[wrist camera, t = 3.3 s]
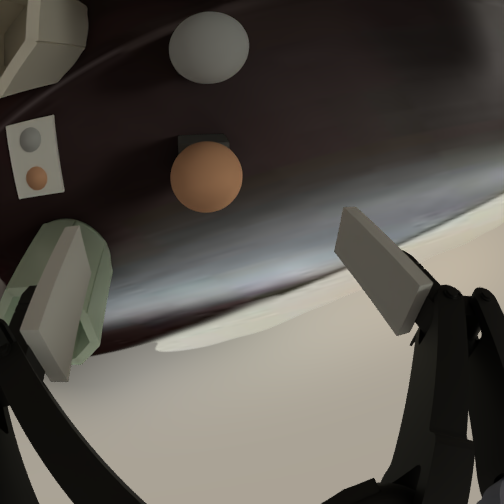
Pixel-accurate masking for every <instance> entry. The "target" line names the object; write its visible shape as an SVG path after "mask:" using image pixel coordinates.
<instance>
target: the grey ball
mask: <svg viewBox="0 0 504 504" xmlns="http://www.w3.org/2000/svg"><path fill="white" fill-rule="evenodd" d="M248 53H249V40H248V36H247V33H246V31H245V29H244V28H243V26H242V25H241V24H240V23H239V22H238V21H237V20H236V19H234V18H232V17H231V16H229V15H227V14H224V13H220V12H201V13H198V14H195V15H192V16H190V17H188V18H187V19H185V20H184V21H183V22H181V23H180V24H179V25H178V27H177V28H176V29H175V31H174V32H173V34H172V37H171V39H170V43H169V56H170V60H171V62H172V64H173V66H174V68H175V69H176V70H177V72H178V73H179V74H181V75H182V76H183V77H185V78H186V79H188V80H190V81H193V82H196V83H201V84H213V83H219V82H222V81H224V80H227V79H229V78H230V77H232V76H233V75H235V74H236V73H237V72H238V71H239V70H240V69H241V68H242V66H243V65H244V63H245V61H246V59H247V56H248Z"/></svg>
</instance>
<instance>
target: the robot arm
mask: <svg viewBox="0 0 504 504" xmlns="http://www.w3.org/2000/svg"><path fill="white" fill-rule="evenodd" d="M334 252H335V253H336V254H337V256H338V257H339V258H340V259H341V261H342V262H343V263H344V265H345V266H346V267H347V269H348V270H349V271H350V273H351V274H352V275H353V276H354V278H355V279H356V280H357V282H358V283H359V284H360V286H361V287H362V289H363V290H364V291H365V293H366V294H367V295H368V297H369V298H370V299H371V301H372V302H373V303H374V305H375V306H376V308H377V309H378V310H379V312H380V313H381V315H382V316H383V317H384V319H385V320H386V322H387V323H388V324H389V326H390V327H391V329H392V330H393V331H394V333H395V334H396V336H398V335H402V334H405V333H409V332H410V330H411V329H412V327H413V325H414V323H416V324H417V325H418V326H419V328H418V330H417V332H416V334H415V336H414V338H413V339H412V341H411V343H410V346H412V345H413V343H414V342H415V347H414V355H413V362H412V370H411V376H410V382H409V388H408V393H407V399H406V404H405V409H404V414H403V419H402V423H401V427H400V432H399V436H398V440H397V444H396V448H395V452H394V455H393V459H392V462H391V465H390V467H389V468H388V470H387V471H386V473H385V474H384V477H383V478H382V480H381V483H376V481H375V479H374V478H372V479H370V480H367V481H365V482H362V483H360V484H357V485H355V486H352V487H349V488H347V489H344V490H343V491H341V492H339V493H338V494H336V495H335V496H333V497H331V498H330V499H328V500H326V501H325V502H323V503H322V504H468V499H469V493H470V487H471V481H472V474H473V466H474V457H475V461H476V471H477V478H478V484H479V488H480V492H481V495H482V500H480V501H479V502H478V503H477V504H504V314H503V312H502V310H501V308H500V306H499V304H498V302H497V300H496V298H495V296H494V295H493V294H492V293H491V292H490V291H489V290H487V289H484V288H476V289H475V290H474V292H473V294H472V296H463V295H462V294H461V293H460V291H458V290H457V289H456V288H454V287H452V286H449V285H440V284H439V283H438V282H437V281H436V280H435V279H434V278H433V277H432V276H431V275H430V274H429V272H428V271H427V270H426V269H424V267H423V266H422V265H421V264H419V262H418V261H417V260H416V259H415V258H414V257H413V256H412V255H410V254H408V253H407V252H405V251H403V250H401V249H400V248H399V247H398V246H397V245H396V244H395V243H394V242H393V241H392V240H391V239H390V238H389V237H388V236H387V235H386V234H384V233H383V232H382V231H381V230H380V229H379V228H378V227H377V226H376V225H375V224H374V223H373V222H372V221H371V220H370V219H369V218H367V217H366V216H365V215H364V214H363V213H362V212H361V211H360V210H359V209H358V208H357V207H343V212H342V217H341V222H340V227H339V232H338V237H337V241H336V246H335V250H334ZM90 277H91V270H90V266H89V262H88V258H87V255H86V251H85V247H84V243H83V239H82V234H81V230H80V226H79V225H78V226H70V227H65V228H64V230H63V232H62V234H61V236H60V238H59V240H58V242H57V244H56V246H55V248H54V250H53V252H52V254H51V256H50V258H49V260H48V262H47V265H46V267H45V269H44V271H43V273H42V275H41V278H40V280H39V282H38V285H33V286H29V287H28V288H27V289H26V290H25V291H24V292H23V293H22V295H21V297H20V300H19V302H18V305H17V307H16V309H15V312H14V314H13V316H12V319H11V321H10V324H9V326H8V324H7V323H6V322H5V321H4V320H3V319H0V504H39V502H38V500H37V498H36V495H35V493H34V490H33V488H32V486H31V483H30V480H29V478H28V475H27V472H26V469H25V466H24V464H23V460H22V457H21V454H20V452H19V448H18V445H17V441H16V438H15V434H14V431H13V427H12V423H11V419H10V415H9V411H8V406H9V405H10V406H11V408H12V410H13V412H14V414H15V416H16V418H17V420H18V422H19V423H20V425H21V427H22V429H23V430H24V432H25V434H26V436H27V437H28V439H29V441H30V442H31V444H32V446H33V447H34V449H35V450H36V452H37V453H38V455H39V456H40V458H41V460H42V461H43V463H44V464H45V466H46V467H47V468H48V470H49V471H50V473H51V474H52V476H53V477H54V478H55V480H56V481H57V482H58V484H59V485H60V486H61V488H62V489H63V490H64V492H65V493H66V494H67V496H68V497H69V498H70V499H71V501H72V502H73V503H74V504H146V503H145V502H144V501H143V500H142V499H141V498H140V497H139V496H138V495H136V493H134V492H133V491H132V490H131V489H130V488H129V487H128V486H127V485H126V484H125V483H124V482H123V481H122V480H121V479H120V478H119V477H118V476H117V475H116V473H114V471H113V470H112V469H111V468H110V467H109V466H108V465H107V464H106V463H105V462H104V461H103V459H102V458H101V457H100V456H99V455H98V454H97V453H96V451H95V450H94V449H93V448H92V447H91V446H90V445H89V443H88V442H87V441H86V440H85V438H84V437H83V436H82V435H81V433H80V432H79V431H78V430H77V428H76V427H75V426H74V425H73V423H72V422H71V420H70V419H69V418H68V417H67V415H66V414H65V413H64V411H63V410H62V408H61V407H60V406H59V404H58V403H57V401H56V400H55V399H54V397H53V395H52V394H51V392H50V391H49V389H48V388H47V387H46V385H45V384H44V382H43V379H44V374H45V373H46V375H47V376H48V378H49V379H50V381H51V382H68V381H69V374H70V368H71V362H72V356H73V351H74V346H75V340H76V335H77V331H78V326H79V321H80V317H81V312H82V308H83V304H84V300H85V296H86V292H87V288H88V284H89V280H90ZM480 330H481V332H482V336H481V338H480V339H478V336H477V335H478V333H479V332H480ZM468 411H469V416H470V422H471V429H472V436H473V441H471V440H468V439H467V435H466V434H467V422H468Z"/></svg>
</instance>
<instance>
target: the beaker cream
mask: <svg viewBox="0 0 504 504" xmlns="http://www.w3.org/2000/svg"><path fill="white" fill-rule="evenodd" d="M87 10H88V8H87V6H86V5H84V4H83V3H82V2H80V1H79V0H0V98H3V97H6V96H9V95H13V94H16V93H19V92H23V91H26V90H30V89H34V88H38V87H42V86H46V85H50V84H55V83H57V82H59V81H60V79H61V78H62V77H63V75H64V74H65V73H67V72H68V71H69V70H70V69H71V67H72V66H73V65H74V64H75V62H76V61H77V60H78V58H79V56H80V55H81V53H82V52H83V50H84V49H85V47H86V41H87V36H88V29H89V24H88V16H87Z"/></svg>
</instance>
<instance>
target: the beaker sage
mask: <svg viewBox="0 0 504 504" xmlns="http://www.w3.org/2000/svg"><path fill="white" fill-rule="evenodd" d="M78 225H79V226H80V230H81V234H82V239H83V243H84V247H85V251H86V255H87V258H88V262H89V266H90V270H91V277H90V280H89V284H88V288H87V292H86V296H85V300H84V304H83V308H82V312H81V317H80V321H79V326H78V331H77V335H76V340H75V346H74V351H73V356H72V362H71V365H81V364H83V363H84V362H85V361H86V359H88V357H89V356H90V355H91V354H92V353H93V352H94V351H95V350H96V349H97V348H98V347H99V346H100V341H101V334H102V327H103V321H104V315H105V309H106V304H107V298H108V293H109V288H110V283H111V278H112V273H113V270H112V266H111V254H110V251H109V248H108V245H107V243H106V242H105V240H104V239H103V237H102V236H101V235H100V234H99V233H98V232H97V231H96V230H95V229H94V228H92V227H91V226H89V225H88V224H86V223H84V222H81V221H78V220H75V219H67V218H65V219H57V220H54V221H51V222H49V223H45V224H43V225H42V227H41V228H40V230H39V231H38V233H37V234H36V236H35V238H34V239H33V241H32V243H31V244H30V246H29V247H28V249H27V251H26V253H25V254H24V256H23V258H22V259H21V261H20V263H19V265H18V267H17V268H16V270H15V272H14V274H13V276H12V278H11V279H10V281H9V283H8V285H7V287H6V289H5V291H4V294H3V296H2V298H1V301H0V319H3V320H4V321H5V322H6V323H7V324H8V326H9V324H10V321H11V319H12V316H13V314H14V312H15V309H16V307H17V305H18V302H19V300H20V297H21V295H22V293H23V292H24V291H25V290H26V289H27V288H28V287H29V286H33V285H38V282H39V280H40V278H41V275H42V273H43V271H44V269H45V267H46V265H47V262H48V260H49V258H50V256H51V254H52V252H53V250H54V248H55V246H56V244H57V242H58V240H59V238H60V236H61V234H62V232H63V230H64V228H65V227H70V226H78Z"/></svg>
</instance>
